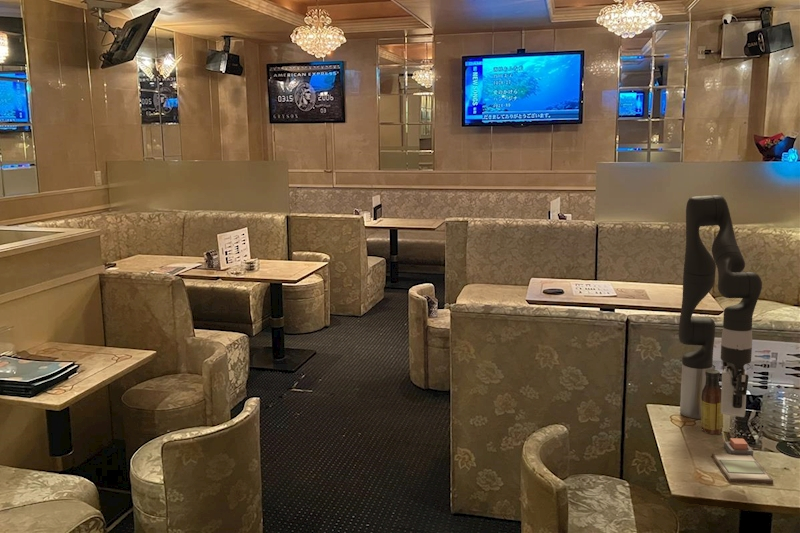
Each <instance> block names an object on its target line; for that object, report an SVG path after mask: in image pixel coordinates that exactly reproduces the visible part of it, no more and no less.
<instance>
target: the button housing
mask: <svg viewBox="0 0 800 533" xmlns="http://www.w3.org/2000/svg"><path fill="white" fill-rule="evenodd" d="M723 449H724V450H725V451H726V453H727V454H735V455H752V456H753V457H754V450H753V449H752V448H751V446H749V444H748V448H747V450H742V449H733V448H732V447H731V445H730V441H724V442H723Z"/></svg>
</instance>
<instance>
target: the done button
mask: <svg viewBox="0 0 800 533" xmlns="http://www.w3.org/2000/svg"><path fill="white" fill-rule="evenodd" d="M729 442H730V445H731V447H732V448H733V449H742V450H747V448H748V445H749V444H748V443H747V441H746V440H745V439H744V438H737V437H735V438H734V437H732V438H731V437H730V438H729Z"/></svg>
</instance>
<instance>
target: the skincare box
mask: <svg viewBox="0 0 800 533" xmlns="http://www.w3.org/2000/svg"><path fill="white" fill-rule="evenodd" d="M745 375H748V371H747V370H745ZM734 383H737V381H736V382H735V381H734ZM739 390H740V388H739ZM732 403H733V387H732V386H731V385H730V375H729V373H728V371H726V370H725V369H724V370H723V369H722V371H721V414H723V415H727V416H733V417H738V418H745V416H746V409H747V408H746V407H747V394H746V395H742V407H741V408H734V407H733V406H732Z"/></svg>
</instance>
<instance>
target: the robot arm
mask: <svg viewBox="0 0 800 533" xmlns="http://www.w3.org/2000/svg"><path fill="white" fill-rule="evenodd" d="M711 226H712V227H713V226H714V227H715V226H718V227H719V230H718V232H717V235H716V237H715V238H714V240H713V242H712V245H711V253H710V251H709V250H708V249H707V247H706V246H705V245H704V243H703V241H702V238H701V236H700V227H711ZM711 254H712V255H711ZM745 266H746V261H745V259H744V257H743V255H742V252H741V250H740V247H739V245H738V243H737V239H736V235H735V231H734V226H733V221H732V217H731V213H730V209H729V205H728V202H727V200H726V199H725V197H724V196H723V195H720V194H719V195H717V194H715V195H714V194H713V195H700V196H699V195H697V196H691V197H690V198H688V199H687V202H686V207H685V253H684V263H683V275H682V278H683V279H682V298H681V300H682V302H681V309H680V317H679V323H678V339H679V342H680V343H681V344H683V345H686V346H687V345H690V346H691V345H692V346H700V348H698V349H696V350H694V351H690V352H687V353H684V354H683V355H682V358H681V379H680V380H681V381H680V382H681V384H680V404H679V412H680V414H681V415H682V416H684V417H687V418H690V419H696V420H697V419H699V420H701V397H702V391H703V389H704V387H705V384H706V375H705V372H706V370H708V369H713V364H714V363H713V361H714V360H713V358H714V346H715V338H716V337H715V336H716V323H715V320H714V319H713V318H712V317H701V316H699V317H697V316H693V314H694V311H695V310H696V308H697V307H698V305H699V304H700V303H701V301H702V300H703V299H704V298H705V297H706V296H707V295H708V294H709V293H710V292H711V290H712V289H713V288H714V285H715V280H716V270H717V276H718V277H717V278H718V280H717V290H718V292H719V294H720V295H721V296H722V297H724V298H727V299H741V300H740V302H739V303H737V304H733V305H730V306H727V307H725V308H724V311H723V319H722V320H723V322H722V332H721V341H720V343H721V344H720V360H721V361H722V371H723V370H724V369H725V370H726V371H728V373H729V375H730V385H731V386H732V387H733V403H732V406H733V407H734V408H741V407H742V395H746V396H747V391H748V385H749V379H750V378H749V377H750V376H749V374H747V375H745V371H746V370H745V366H746V365H748V364H750V363H751V362H752V354H753V353H752V350H753V316H754V311H755V309H756V306H757V303H758V301H759V297H760V295H761V293H762V289H763V282H762V278H761V277H760V275H759V274H757V272H753V271H744V270H745ZM734 381H735V382H736V381H737V383H734ZM739 388H740V390H739Z"/></svg>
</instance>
